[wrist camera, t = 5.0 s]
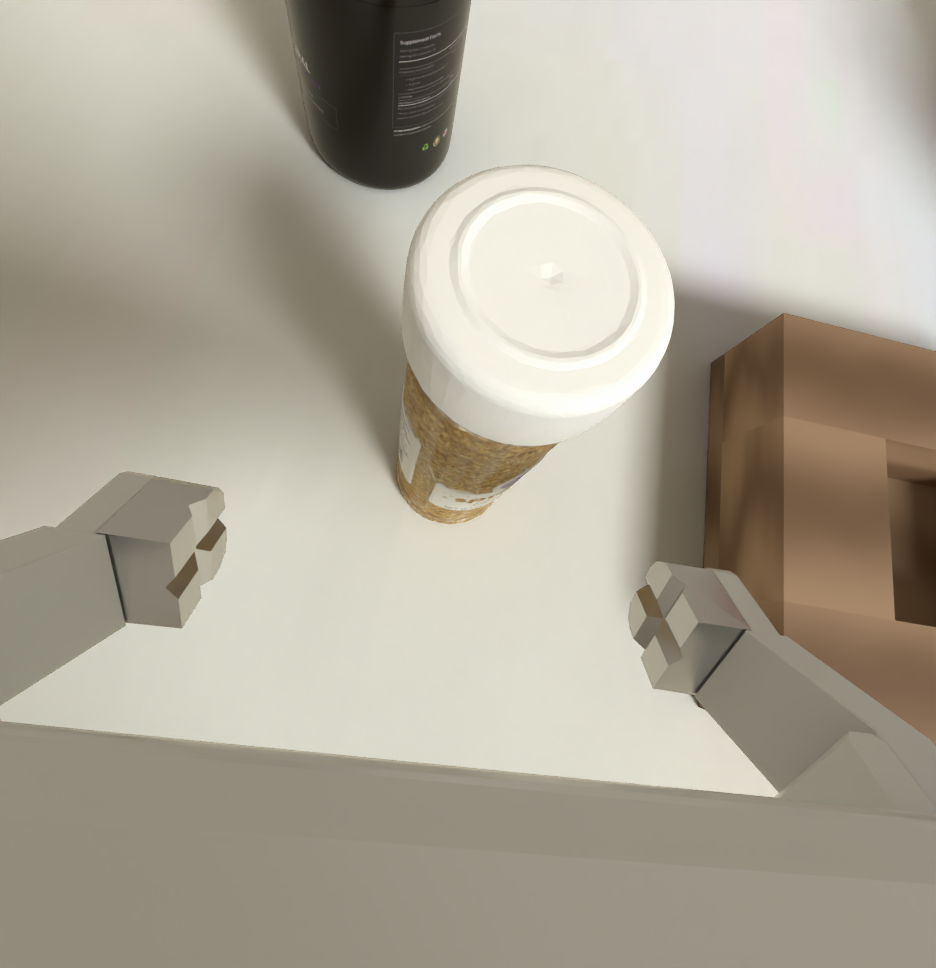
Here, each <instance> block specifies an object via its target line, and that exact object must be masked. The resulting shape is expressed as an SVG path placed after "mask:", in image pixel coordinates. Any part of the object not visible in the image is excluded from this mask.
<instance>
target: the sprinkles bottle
mask: <svg viewBox="0 0 936 968" xmlns="http://www.w3.org/2000/svg"><path fill="white" fill-rule="evenodd" d="M674 309H675V301H674V291H673V284H672V278H671V275H670V272H669V269H668V266H667V263H666V261H665V258H664V256H663V254H662V252H661V249H660V248H659V246H658V244H657V242H656V240H655V238H654V237H653V235H652V234H651V232H650V231H649V229H648V228H647V227H646V225H645V224H644V223H643V222H642V220H641V219H640V218H639V217H638V216H637V215H636V214H635V213H634V212H633V211H632V210H631V209H630V208H629V207H628V206H627V205H626V204H625V203H624V202H622V201H621V200H620V199H618V198H617V197H616V196H614V195H613V194H612V193H610V192H609V191H607V190H606V189H604V188H603V187H601V186H599V185H598V184H596V183H594V182H592V181H590V180H588V179H585V178H583V177H581V176H578V175H576V174H573V173H570V172H567V171H563V170H559V169H555V168H551V167H546V166H536V165H514V166H506V167H497V168H493V169H489V170H486V171H482V172H480V173H477V174H475V175H473V176H470V177H468V178H466V179H464V180H462V181H460V182H459V183H457V184H455V185H454V186H452V187H451V188H450V189H448V190H447V191H446V192H445V193H444V194H443V195H442V196H440V197H439V198H438V199H437V200H436V201H435V202H434V204H433V205H432V206H431V207H430V209H429V210H428V211H427V213H426V214H425V216H424V217H423V219H422V220H421V222H420V224H419V226H418V227H417V229H416V231H415V234H414V237H413V239H412V242H411V245H410V249H409V254H408V258H407V264H406V272H405V281H404V291H403V304H402V324H401V330H402V339H403V344H404V348H405V352H406V355H407V359H408V365H407V370H406V376H405V379H404V384H403V393H402V405H401V418H400V436H399V455H398V459H397V470H396V474H397V481H398V484H399V487H400V489H401V494H402V495H403V497H404V498H405V500H406V501H407V503H408V504H409V505H410V506H411V508H412V509H413V510H414V511H415V512H417V513H418V514H420V515H421V516H423V517H425V518H427V519H429V520H432V521H437V522H440V523H446V524H456V523H460V522H466V521H468V520H471V519H473V518H475V517H477V516H479V515H481V514H482V513H483V512H484V511H485V510H486V509H487V508H488V507H489V506H490V505H491V504H492V503H493V502H494V500H496V499H497V498H498V497H500V496H501V495H502V494H503V493H504V492H506V491H507V490H508V489H509V488H510V487H511V486H512V485H513V484H514V483H515V482H516V481H518V480H519V479H520V478H521V477H522V476H523V475H524V474H526V473H527V472H528V471H529V470H531V469H532V468H533V467H534V466H535V465H537V464H538V463H539V462H540V461H541V460H542V459H543V458H544V456H545V455H546V453H547V452H548V451H550V450H551V449H552V448H553V447H554V446H556V445H557V444H558V443H559V442H561V441H564V440H567V439H571V438H574V437H576V436H578V435H580V434H582V433H584V432H586V431H587V430H589V429H590V428H592V427H593V426H595V425H596V424H597V423H599V422H600V421H601V420H603V419H604V418H605V417H607V416H608V415H609V414H611V413H612V412H613V411H614V410H615V409H617V408H618V407H619V406H620V405H621V404H623V403H624V402H625V401H626V400H627V399H628V398H629V397H631V396H632V395H633V394H634V393H635V392H636V391H637V390H638V389H640V388H641V387H642V386H643V385H644V384H645V383H646V381H647V380H648V379H649V378H650V377H651V375H652V374H653V373H654V371H655V370H656V368H657V366H658V365H659V363H660V361H661V359H662V358H663V356H664V354H665V352H666V349H667V346H668V344H669V341H670V338H671V333H672V328H673V324H674Z"/></svg>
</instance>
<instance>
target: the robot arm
mask: <svg viewBox="0 0 936 968" xmlns="http://www.w3.org/2000/svg"><path fill="white" fill-rule="evenodd" d="M224 509H225V503H224V494H223V492H222V491H221V489H220V488H217V487H212V486H207V485H201V484H196V483H191V482H185V481H180V480H174V479H169V478H164V477H156V476H152V475H146V474H140V473H134V472H124V473H120V474H118V475H117V476H116V477H115V478H113V479H112V480H111V481H110V482H109V483H108V484H106V485H105V486H104V487H103V488H102V489H100V490H99V491H98V492H97V493H96V494H95V495H93V496H92V497H91V498H90V499H89V500H87V501H86V502H85V503H84V504H83V505H82V506H80V507H79V508H78V509H77V510H76V511H75V512H73V513H72V514H71V515H70V516H69V517H67V518H66V519H65V520H64V521H63V522H62V523H60V524H59V525H58V526H57V527H56V528H54V527H47V526H43V527H40V528H37V529H34V530H31V531H28V532H25V533H22V534H19V535H16V536H12V537H9V538H6V539H3V540H0V705H2V704H3V703H5V702H6V701H8V700H9V699H11V698H13V697H14V696H16V695H17V694H19V693H20V692H22V691H24V690H25V689H27V688H28V687H30V686H31V685H33V684H35V683H36V682H38V681H39V680H41V679H42V678H44V677H46V676H47V675H49V674H50V673H52V672H53V671H55V670H57V669H58V668H60V667H61V666H63V665H64V664H66V663H68V662H69V661H71V660H72V659H74V658H75V657H77V656H79V655H80V654H82V653H83V652H85V651H86V650H88V649H90V648H91V647H93V646H94V645H96V644H97V643H99V642H101V641H102V640H104V639H105V638H107V637H108V636H110V635H112V634H113V633H115V632H116V631H118V630H119V629H121V628H122V627H124V626H125V625H126V624H125V623H135V624H145V625H155V626H165V627H175V628H183V626H184V625H185V623H186V621H187V620H188V618H189V617H190V615H191V613H192V612H193V610H194V609H195V607H196V605H197V604H198V602H199V601H200V599H201V591H200V586H201V585H203V584H204V583H206V582H208V581H210V580H212V579H213V578H214V576H215V575H216V573H217V571H218V569H219V568H220V565H221V562H222V559H223V556H224V554H225V549H226V541H227V534H226V527H225V526H224V525H223V524H222V522H221V521H220V520H219V519H218V517H219V516H220V514H221V513H222V512H223V510H224ZM645 576H646V579H647V583H648V585H647V586H645V587H643V588H642V589H640V590H638V591H637V592H636V593H635V595H634V597H633V599H632V601H631V603H630V608H629V615H628V619H629V627H630V630H631V633H632V636H633V638H634V639H635V640H636V641H637V642H638V643H639V644H640V645H641V646H642V647H643V648H644V652H643V654H642V656H641V659H642V662H643V664H644V667H645V670H646V672H647V675H648V677H649V680H650V682H651V685H652V687H653V688H654V689H661V690H667V691H673V692H680V693H686V694H693V695H695V698H696V699H697V701H698V702H699V703H700V704H701V705H702V706H703V707H704V708H705V710H706V711H707V712H708V713H709V714H710V715H711V716H712V718H713V719H714V720H715V721H716V722H717V723H718V724H719V725H720V727H721V728H722V729H723V730H724V731H725V732H726V733H727V734H728V736H729V737H730V738H731V739H732V740H733V741H734V742H735V744H736V745H737V746H738V747H739V748H740V749H741V750H742V751H743V753H744V754H745V755H746V756H747V757H748V758H749V759H750V761H751V762H752V763H753V764H754V765H755V766H756V767H757V768H758V770H759V771H760V772H761V773H762V774H763V775H764V776H765V777H766V779H767V780H768V781H769V782H770V783H771V784H772V785H773V787H774V788H775V789H776V790H777V791H778V792H779V794H778V795H776V796H775V797H763V796H753V795H743V794H733V793H723V792H713V791H703V790H692V789H682V788H672V787H661V786H651V785H641V784H631V783H620V782H610V781H600V780H589V779H579V778H569V777H559V776H548V775H538V774H528V773H518V772H507V771H497V770H487V769H477V768H467V767H457V766H447V765H437V764H427V763H417V762H407V761H397V760H386V759H376V758H366V757H356V756H346V755H336V754H326V753H316V752H306V751H296V750H286V749H275V748H265V747H255V746H245V745H235V744H225V743H215V742H205V741H194V740H184V739H174V738H164V737H154V736H144V735H134V734H123V733H113V732H103V731H93V730H83V729H73V728H63V727H53V726H42V725H32V724H22V723H12V722H2V721H1V719H0V968H936V746H935V745H934V744H933V742H932V741H931V740H930V739H929V738H927V737H926V736H925V735H923V734H922V733H920V732H919V731H918V730H916V729H915V728H913V727H912V726H911V725H909V724H908V723H906V722H905V721H904V720H902V719H901V718H900V717H898V716H897V715H895V714H894V713H893V712H891V711H890V710H888V709H887V708H886V707H884V706H883V705H882V704H880V703H879V702H877V701H876V700H875V699H873V698H872V697H870V696H869V695H868V694H866V693H865V692H864V691H862V690H861V689H859V688H858V687H857V686H855V685H854V684H852V683H851V682H850V681H848V680H847V679H846V678H844V677H843V676H841V675H840V674H839V673H837V672H836V671H834V670H833V669H832V668H830V667H829V666H828V665H826V664H825V663H823V662H822V661H821V660H819V659H818V658H816V657H815V656H814V655H812V654H811V653H810V652H808V651H807V650H805V649H804V648H803V647H801V646H800V645H798V644H797V643H796V642H794V641H793V640H791V639H790V638H789V637H787V636H781V635H779V633H778V632H777V631H776V629H775V628H774V626H773V625H772V624H771V622H770V621H769V619H768V618H767V617H766V615H765V614H764V612H763V611H762V610H761V608H760V607H759V605H758V604H757V603H756V601H755V600H754V598H753V597H752V596H751V594H750V593H749V592H748V590H747V589H746V587H745V586H744V585H743V583H742V582H741V580H740V579H739V578H738V576H737V575H735V574H734V573H732V572H731V571H727V570H720V569H712V568H699V567H693V566H687V565H681V564H675V563H668V562H662V561H657V562H655V563H654V564H653V565H652V566H651V567H650V568H649V570H648V572H647V574H646V575H645Z"/></svg>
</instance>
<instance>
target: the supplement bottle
mask: <svg viewBox="0 0 936 968" xmlns="http://www.w3.org/2000/svg"><path fill="white" fill-rule="evenodd" d="M285 1H286V7H287V12H288V18H289V24H290V29H291V35H292V41H293V46H294V52H295V58H296V63H297V69H298V75H299V80H300V86H301V92H302V97H303V103H304V108H305V113H306V118H307V124H308V128H309V131H310V135H311V138H312V140H313V142H314V144H315V146H316V148H317V150H318V151H319V153H320V155H321V156H322V157H323V158H324V160H325V161H326V162H327V163H328V164H329V165H330V166H331V167H332V168H333V169H334V170H336V171H337V172H338V173H340V174H341V175H342V176H344V177H346V178H347V179H349V180H351V181H353V182H355V183H357V184H360V185H363V186H366V187H370V188H374V189H382V190H396V189H403V188H407V187H410V186H413V185H416V184H418V183H420V182H422V181H424V180H425V179H427V178H428V177H430V176H431V175H432V174H433V173H434V172H435V171H436V170H437V169H438V168H439V166H440V165H441V164H442V162H443V160H444V158H445V157H446V154H447V152H448V148H449V145H450V140H451V134H452V128H453V122H454V115H455V108H456V101H457V94H458V88H459V81H460V74H461V67H462V60H463V53H464V47H465V40H466V33H467V26H468V19H469V12H470V5H471V0H285Z"/></svg>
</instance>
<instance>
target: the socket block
mask: <svg viewBox="0 0 936 968" xmlns="http://www.w3.org/2000/svg"><path fill="white" fill-rule="evenodd" d="M704 568H712V569H720V570H727V571H731V572H732V573H734V574H735V575H737V576H738V578H739V579H740V580H741V582H742V583H743V585H744V586H745V587H746V589H747V590H748V592H749V593H750V594H751V596H752V597H753V598H754V600H755V601H756V603H757V604H758V605H759V607H760V608H761V610H762V611H763V612H764V614H765V615H766V617H767V618H768V619H769V621H770V622H771V624H772V625H773V626H774V628H775V629H776V631H777V632H778V633H779V635H781V636H787V637H789V638H790V639H791V640H793V641H794V642H796V643H797V644H798V645H800V646H801V647H803V648H804V649H805V650H807V651H808V652H810V653H811V654H812V655H814V656H815V657H816V658H818V659H819V660H821V661H822V662H823V663H825V664H826V665H828V666H829V667H830V668H832V669H833V670H834V671H836V672H837V673H839V674H840V675H841V676H843V677H844V678H846V679H847V680H848V681H850V682H851V683H852V684H854V685H855V686H857V687H858V688H859V689H861V690H862V691H864V692H865V693H866V694H868V695H869V696H870V697H872V698H873V699H875V700H876V701H877V702H879V703H880V704H882V705H883V706H884V707H886V708H887V709H888V710H890V711H891V712H893V713H894V714H895V715H897V716H898V717H900V718H901V719H902V720H904V721H905V722H906V723H908V724H909V725H911V726H912V727H913V728H915V729H916V730H918V731H919V732H920V733H922V734H923V735H925V736H926V737H927V738H929V739H930V740H931V741H932V742H933V744H934V745H935V746H936V351H932V350H928V349H924V348H920V347H916V346H912V345H908V344H904V343H900V342H896V341H892V340H888V339H884V338H880V337H876V336H872V335H868V334H864V333H861V332H857V331H853V330H849V329H845V328H841V327H837V326H833V325H829V324H825V323H821V322H817V321H813V320H809V319H805V318H801V317H797V316H793V315H790V314H786V313H783V314H782V315H780V316H779V317H777V318H776V319H774V320H773V321H771V322H770V323H769V324H767V325H766V326H764V327H763V328H761V329H760V330H758V331H757V332H755V333H754V334H753V335H751V336H750V337H748V338H747V339H745V340H744V341H742V342H741V343H740V344H738V345H737V346H735V347H734V348H732V349H731V350H729V351H728V352H727V353H725V354H724V355H722V356H721V357H719V358H718V359H716V360H715V361H714V362H712V363H711V386H710V412H709V438H708V464H707V490H706V516H705V542H704ZM698 707H700V708H702V709H705V708H704V707H703V706H702V705H701V704H700V703H699V702H698Z"/></svg>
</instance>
